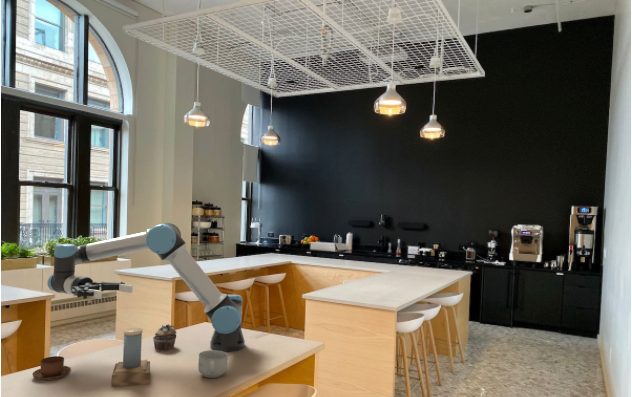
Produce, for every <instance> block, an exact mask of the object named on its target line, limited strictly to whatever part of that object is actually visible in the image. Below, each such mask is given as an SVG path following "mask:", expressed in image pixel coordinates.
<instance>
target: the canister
mask: <svg viewBox="0 0 632 397" xmlns="http://www.w3.org/2000/svg"><path fill="white" fill-rule="evenodd" d="M143 330H144V329H143V328H141V327H129V328H126V329H124V330H123V333H122V334H123V350H122V351H123V352H122V354H123V355H122V362H123V367H124V368H128V369H130V368H137V367H139V366H140V365H141V360H142V342H143V341H142V339H143V337H142V336H143V335H142V334H143Z"/></svg>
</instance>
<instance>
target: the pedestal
mask: <svg viewBox="0 0 632 397" xmlns="http://www.w3.org/2000/svg"><path fill="white" fill-rule="evenodd" d="M150 374H151V360H148V359H143V360H142V359H141V365H140V366H139V367H137V368H130V369H128V368H124V367H123V361H118V362H115V365H114V367H113V370H112V374H111V384H110V385H111V388H113V387H114V388H115V387H125V386H126V387H127V386H139V385H149V382H150Z"/></svg>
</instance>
